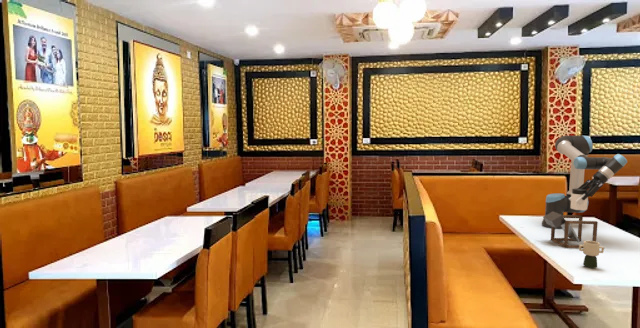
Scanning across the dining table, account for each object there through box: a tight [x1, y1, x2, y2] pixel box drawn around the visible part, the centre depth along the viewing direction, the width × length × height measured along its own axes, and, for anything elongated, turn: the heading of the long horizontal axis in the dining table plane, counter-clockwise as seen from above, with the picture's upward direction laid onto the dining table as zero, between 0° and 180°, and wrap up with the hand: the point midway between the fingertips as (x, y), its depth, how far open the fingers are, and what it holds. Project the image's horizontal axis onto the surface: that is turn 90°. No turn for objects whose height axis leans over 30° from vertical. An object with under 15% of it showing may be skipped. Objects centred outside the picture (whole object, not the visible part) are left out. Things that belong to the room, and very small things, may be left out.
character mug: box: [578, 240, 605, 269], centre depth 239 cm, size 11×7×13 cm, turn 68°
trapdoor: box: [542, 211, 581, 243], centre depth 284 cm, size 14×19×8 cm
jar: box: [570, 189, 589, 211], centre depth 282 cm, size 9×8×12 cm
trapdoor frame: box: [550, 214, 599, 249], centre depth 284 cm, size 18×18×16 cm
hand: (574, 201), depth 282 cm, fingers closed on jar, 8 cm apart
